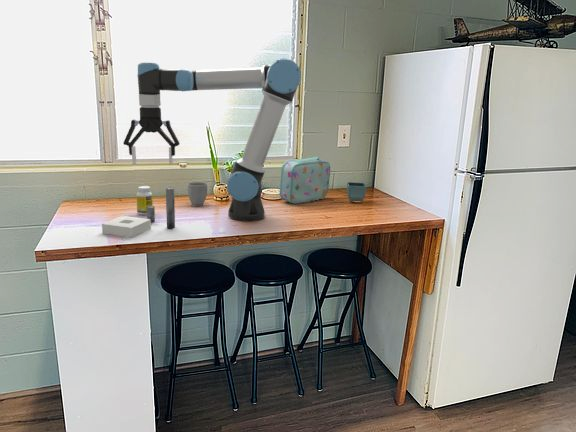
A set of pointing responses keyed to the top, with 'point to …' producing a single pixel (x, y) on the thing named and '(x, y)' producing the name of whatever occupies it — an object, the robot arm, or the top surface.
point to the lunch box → (304, 180)
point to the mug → (197, 193)
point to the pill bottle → (143, 199)
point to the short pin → (151, 213)
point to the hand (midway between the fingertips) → (152, 164)
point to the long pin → (170, 208)
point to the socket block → (126, 226)
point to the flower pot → (356, 191)
